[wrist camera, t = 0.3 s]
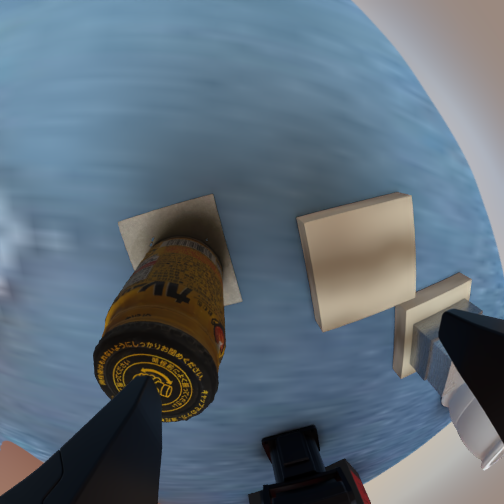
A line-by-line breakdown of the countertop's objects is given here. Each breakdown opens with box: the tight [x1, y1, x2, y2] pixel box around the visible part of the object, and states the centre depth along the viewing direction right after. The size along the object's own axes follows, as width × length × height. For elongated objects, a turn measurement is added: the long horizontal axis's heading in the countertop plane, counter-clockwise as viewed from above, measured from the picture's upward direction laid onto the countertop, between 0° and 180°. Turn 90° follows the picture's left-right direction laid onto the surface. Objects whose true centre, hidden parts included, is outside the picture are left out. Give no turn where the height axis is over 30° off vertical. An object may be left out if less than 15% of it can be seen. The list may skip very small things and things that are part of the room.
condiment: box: [93, 194, 242, 422], centre depth 15 cm, size 7×8×12 cm
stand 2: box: [393, 273, 472, 379], centre depth 25 cm, size 9×9×2 cm
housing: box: [409, 298, 483, 397], centre depth 21 cm, size 5×7×6 cm
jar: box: [441, 383, 504, 470], centre depth 24 cm, size 11×10×15 cm
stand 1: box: [296, 192, 416, 332], centre depth 21 cm, size 9×9×2 cm
